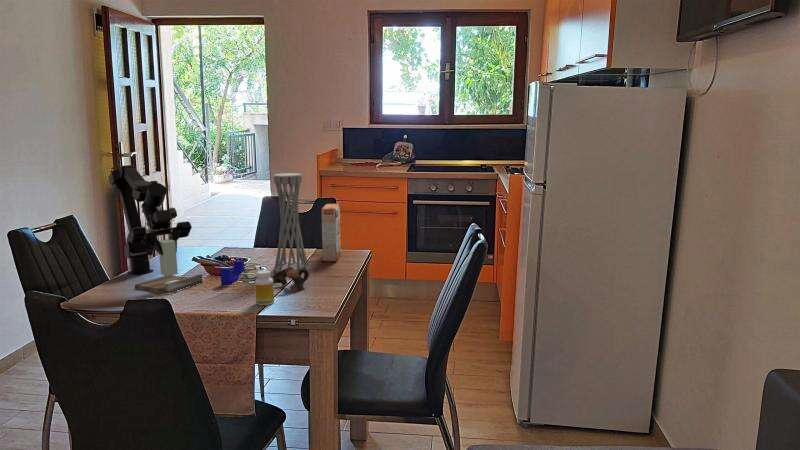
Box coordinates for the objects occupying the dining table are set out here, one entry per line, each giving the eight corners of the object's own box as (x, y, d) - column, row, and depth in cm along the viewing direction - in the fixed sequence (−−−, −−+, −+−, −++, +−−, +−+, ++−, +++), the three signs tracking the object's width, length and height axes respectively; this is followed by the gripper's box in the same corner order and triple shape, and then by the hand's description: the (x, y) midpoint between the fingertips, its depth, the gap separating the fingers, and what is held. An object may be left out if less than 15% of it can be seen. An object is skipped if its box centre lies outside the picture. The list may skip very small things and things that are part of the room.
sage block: (160, 273, 193) (158, 240, 191) (173, 271, 196) (170, 239, 194) (165, 276, 190) (162, 242, 188) (177, 274, 193) (175, 241, 191)
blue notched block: (232, 276, 210) (231, 260, 208) (244, 277, 209) (243, 260, 208) (217, 286, 198) (215, 268, 197) (229, 286, 197) (228, 269, 196)
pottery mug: (285, 296, 186) (273, 273, 187) (277, 302, 194) (266, 280, 195) (317, 280, 193) (306, 258, 193) (309, 287, 201) (298, 265, 201)
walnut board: (135, 288, 196) (134, 278, 195) (169, 278, 208) (168, 269, 207) (169, 294, 189) (168, 284, 188) (202, 283, 201) (201, 274, 200)
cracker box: (337, 262, 229) (336, 208, 225) (322, 262, 229) (320, 208, 225) (341, 253, 242) (340, 203, 239) (327, 253, 242) (325, 203, 239)
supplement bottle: (275, 304, 176) (273, 273, 175) (256, 306, 175) (255, 274, 173) (272, 299, 182) (271, 268, 180) (254, 301, 180) (253, 270, 178)
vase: (299, 275, 209) (294, 176, 203) (266, 272, 214) (260, 175, 207) (316, 266, 222) (313, 173, 216) (285, 264, 226) (280, 172, 220)
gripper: (129, 203, 186) (143, 243, 180) (187, 197, 198) (203, 234, 192) (123, 224, 193) (137, 263, 187) (180, 217, 205) (195, 254, 199)
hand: (169, 253), depth 191 cm, fingers closed on sage block, 4 cm apart
